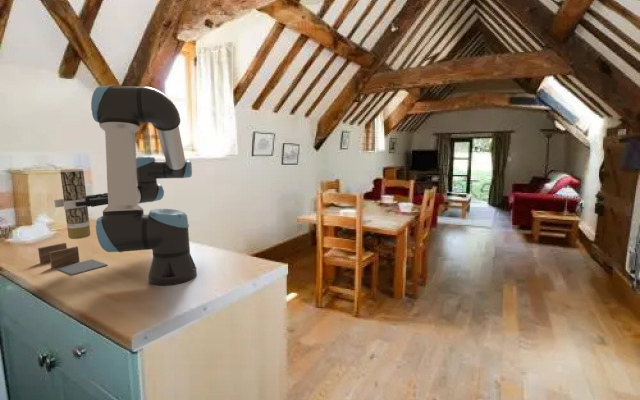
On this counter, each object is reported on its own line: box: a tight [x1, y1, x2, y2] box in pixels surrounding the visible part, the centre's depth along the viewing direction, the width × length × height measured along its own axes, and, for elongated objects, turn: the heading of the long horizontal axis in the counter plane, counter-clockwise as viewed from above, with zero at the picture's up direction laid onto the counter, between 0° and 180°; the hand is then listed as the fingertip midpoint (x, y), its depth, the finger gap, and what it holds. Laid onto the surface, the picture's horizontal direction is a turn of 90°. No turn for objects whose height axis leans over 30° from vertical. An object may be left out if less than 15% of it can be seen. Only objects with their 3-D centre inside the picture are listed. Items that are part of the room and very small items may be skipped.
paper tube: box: [59, 168, 91, 240], centre depth 128 cm, size 7×7×25 cm
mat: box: [56, 259, 108, 276], centre depth 131 cm, size 12×12×1 cm
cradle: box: [37, 242, 81, 269], centre depth 136 cm, size 11×9×6 cm
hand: (59, 204), depth 123 cm, fingers closed on paper tube, 7 cm apart
